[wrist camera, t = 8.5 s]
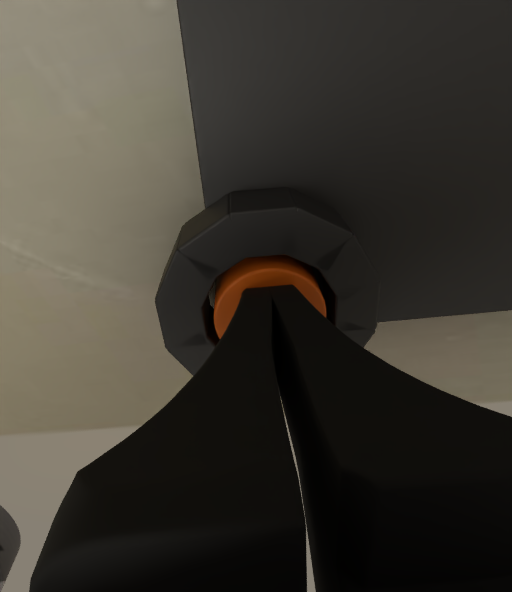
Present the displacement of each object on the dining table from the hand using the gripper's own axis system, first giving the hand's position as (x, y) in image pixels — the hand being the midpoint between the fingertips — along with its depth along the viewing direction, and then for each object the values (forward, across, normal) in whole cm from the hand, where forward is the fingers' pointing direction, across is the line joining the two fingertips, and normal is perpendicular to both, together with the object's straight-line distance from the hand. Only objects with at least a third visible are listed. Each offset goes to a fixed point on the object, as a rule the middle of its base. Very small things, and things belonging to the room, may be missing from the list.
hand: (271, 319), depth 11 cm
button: (+2, 0, 0) cm, 2 cm away
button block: (+3, -6, -3) cm, 8 cm away
